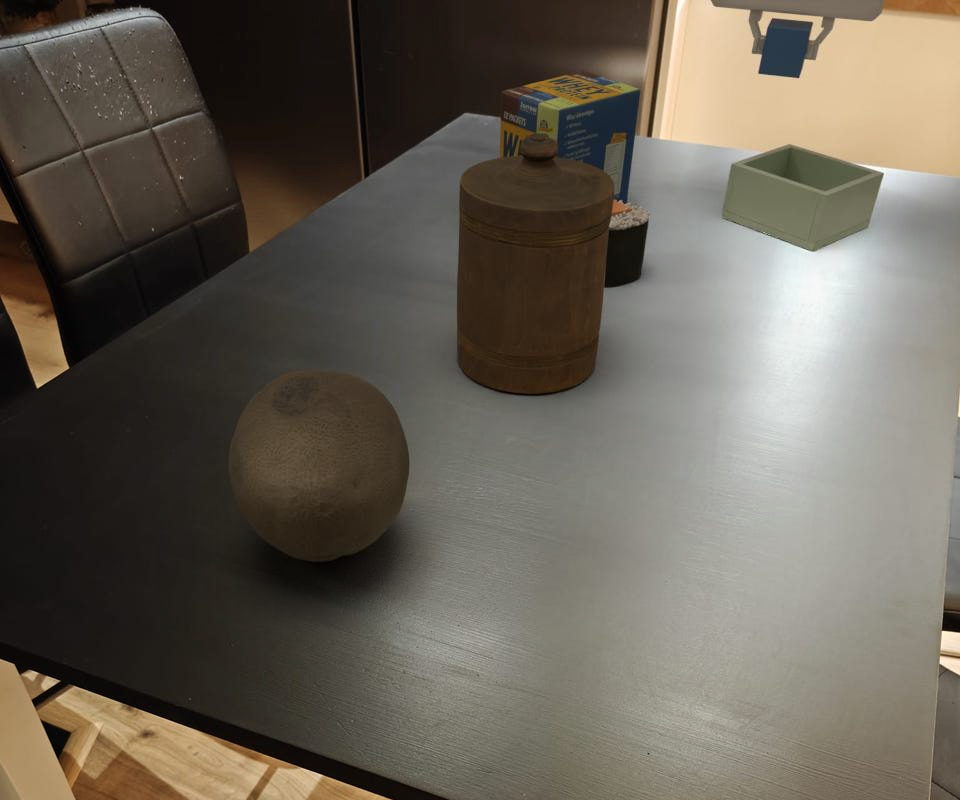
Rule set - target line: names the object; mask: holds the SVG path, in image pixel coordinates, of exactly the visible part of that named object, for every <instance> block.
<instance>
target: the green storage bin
mask: <svg viewBox="0 0 960 800" xmlns="http://www.w3.org/2000/svg"><path fill="white" fill-rule="evenodd" d="M729 169H730V170H729V174H728V179H727V185H726V189H725V196H724V199H723V200H724V202H723V206H722V211H721V216H722V217H724V218H726V219H725V220H727V219H728V220H727V221H730V220H731V221H730V222H732V221H734V222H733V223H735V222H736V223H735V224H738V223H739V224H738V225H740V224H741V226H743V225H745V226H744V227H746V226H747V227H746V228H748V227H751V228H754V229H756V230H759V231H762V232H765V233H767V234H770V235H772V236H771V237H773V236H775V237H777V238H776V239H778V238H780V239H779V240H781V239H782V240H781V241H783V240H785V241H784V242H786V241H788V242H787V243H789V242H790V243H789V244H791V243H792V244H791V245H794V246H797V247H800V248H802V249H804V250H807V251H810V252H814V251H817V250H819V249H821V248H824V247H826V246H829V245H831V244H832V243H835V242H838V241H840V240H842V239H844V238H846V237H849V236H851V235H854V234H856V233H858V232H861V231H862V230H865V229H868V228H869V224H870V222H871V218H872V216H873V215H872V214H873V211H874V208H875V206H876V202H877V199H878V195H879V192H880V188H881V185H882V182H883V178H884V175H885V172H882V171H879V170H876V169H873V168H868V167H866V166H863V165H859V164H856V163H853V162H849V161H846V160H843V159H840V158H837V157H833V156H830V155H827V154H824V153H820V152H817V151H814V150H810V149H807V148H805V147H801V146H798V145H795V144H791V143H788V144H786V145H783V146H779V147H776V148H774V149H771V150H768V151H765V152H762V153H759V154H755V155H753V156H750V157H746V158H744V159H741V160H738V161H734V162H732V163H731V164H730V168H729ZM722 217H721V218H722ZM724 218H723V219H724ZM751 228H750V229H751ZM754 229H753V230H754ZM756 230H755V231H756ZM759 231H758V232H759ZM762 232H761V233H762ZM765 233H764V234H765ZM767 234H766V235H767ZM770 235H769V236H770ZM775 237H774V238H775Z"/></svg>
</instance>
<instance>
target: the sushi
mask: <svg viewBox="0 0 960 800" xmlns="http://www.w3.org/2000/svg"><path fill="white" fill-rule="evenodd" d="M631 204H632V203H631V202H627V203H626V204H624V203H623V201H622V200H620V201H618V202H617V200H615V199H614V200H613V209H612V216H611V221H610V224H609V234H608V245H607V257H606V268H605V281H604V288H605V287H606V288H611V287H612V288H613V287H618V286H622V285H626V284H629V283H631V282H633V281H636V280H638V279H639V278H640V277H641V276H642V271H643V265H644V257H645V249H646V243H647V235H648V228H649V220H650V216H651V212H650V211H649V210H648V209H643V206H642V205H640V206H638V205H631Z"/></svg>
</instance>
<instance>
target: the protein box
mask: <svg viewBox="0 0 960 800" xmlns="http://www.w3.org/2000/svg"><path fill="white" fill-rule="evenodd" d="M641 91H642V90H641V89H640V88H637V87H635V86H631V85H630V84H626V83H622V82H619V81H616V80H613V79H610V78H606V77H603V76H601V75H598V74H594V73H591V72H588V71H585V70H581V71H577V72H574V73H573V72H572V73H570V74H567V75H566V74H565V75H561V76H558V77H553V78H549V79H545V80H542V81H536V82H533V83H529V84H525V85H521V86H517V87H513V88H507V89H504V90H501V94H500V95H501V96H500V132H499V133H500V135H499V158H502V157H509V156H522V155H521V152H520V146H521V142H522V141H523V140H524V139H525V138H527V137H529V136H530V135H531V134H535V133H540V134H541V133H543V134H547V135H549V138H551V139H553V140H554V141H555V142H556V144H557V146H558V154H557V155H556V156H555V157H559V158H565V159H571V160H576V161H580V162H583V163H587V164H590V165H592V166H595V167H597V168H599V169H601V170H602V171H604V172H606V173H607V174H608V175H609V176H610V177H611V178H612V180H613V182H614V199H615V200H617V202H618V201H620V200H622V201H623V203H624V204H626V203H628V195H629V188H630V180H631V173H632V171H631V170H632V162H633V156H634V146H635V138H636V131H637V123H638V113H639V107H640V99H641V98H640V97H641Z"/></svg>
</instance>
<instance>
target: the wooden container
mask: <svg viewBox="0 0 960 800" xmlns="http://www.w3.org/2000/svg"><path fill="white" fill-rule="evenodd" d="M520 152H521V155H522V156H509V157H502V158H500V157H497V158H491V159H487V160H484V161H481V162H478V163H475V164H474V165H472V166H470V167H468V168H467V169H465V171H464V172H463V173H462V174H461V176H460V179H459V193H458V195H459V197H458V204H459V205H458V211H459V212H458V214H459V219H458V251H457V252H458V253H457V254H458V256H457V276H456V277H457V278H456V281H457V282H456V354H457V356H456V357H457V358H456V359H457V363H458V366H459V367H460V369H461V370H462V371H463V373H464V374H465V375H467V377H469V378H470V379H472V380H473V381H475V382H477V383H479V384H480V385H483V386H486V387H488V388H491V389H494V390H498V391H502V392H505V393H506V392H508V393H513V394H515V393H516V394H525V395H536V394H549V393H554V392H555V393H556V392H560V391H564V390H567V389H570V388H572V387H574V386H576V385H577V386H578V384H581V383H582V382H584V381H585V380H586V379H588V378H589V376H590V375H591V374H592V373H593V372H594V370H595V367H596V364H597V363H596V362H597V361H596V360H597V354H598V348H599V336H600V329H601V323H602V315H603V314H602V313H603V304H604V293H605V286H604V281H605V268H606V257H607V245H608V234H609V224H610V221H611V216H612V209H613V200H614V182H613V180H612V178H611V177H610V176H609V175H608V174H607V173H606V172H604V171H602V170H601V169H599V168H597V167H595V166H592V165H590V164H587V163H583V162H580V161H576V160H571V159H565V158H559V157H555V156H556V155H557V154H558V146H557V144H556V142H555V141H554V140H553V139H551V138H549V135H547V134H543V133H541V134H540V133H535V134H531V135H530V136H529V137H527V138H525V139H524V140H523V141H522V142H521V146H520Z"/></svg>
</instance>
